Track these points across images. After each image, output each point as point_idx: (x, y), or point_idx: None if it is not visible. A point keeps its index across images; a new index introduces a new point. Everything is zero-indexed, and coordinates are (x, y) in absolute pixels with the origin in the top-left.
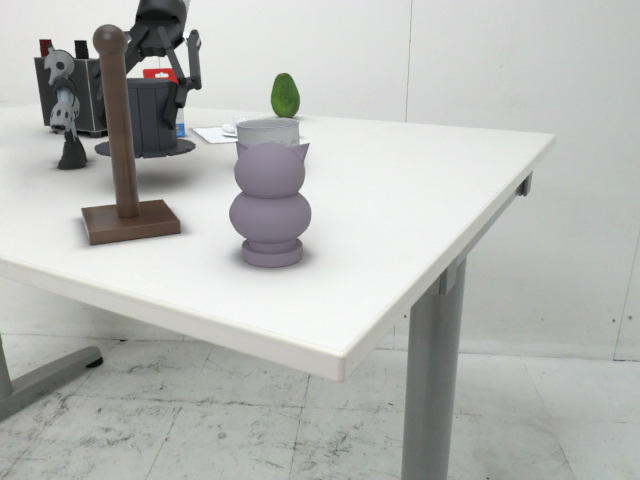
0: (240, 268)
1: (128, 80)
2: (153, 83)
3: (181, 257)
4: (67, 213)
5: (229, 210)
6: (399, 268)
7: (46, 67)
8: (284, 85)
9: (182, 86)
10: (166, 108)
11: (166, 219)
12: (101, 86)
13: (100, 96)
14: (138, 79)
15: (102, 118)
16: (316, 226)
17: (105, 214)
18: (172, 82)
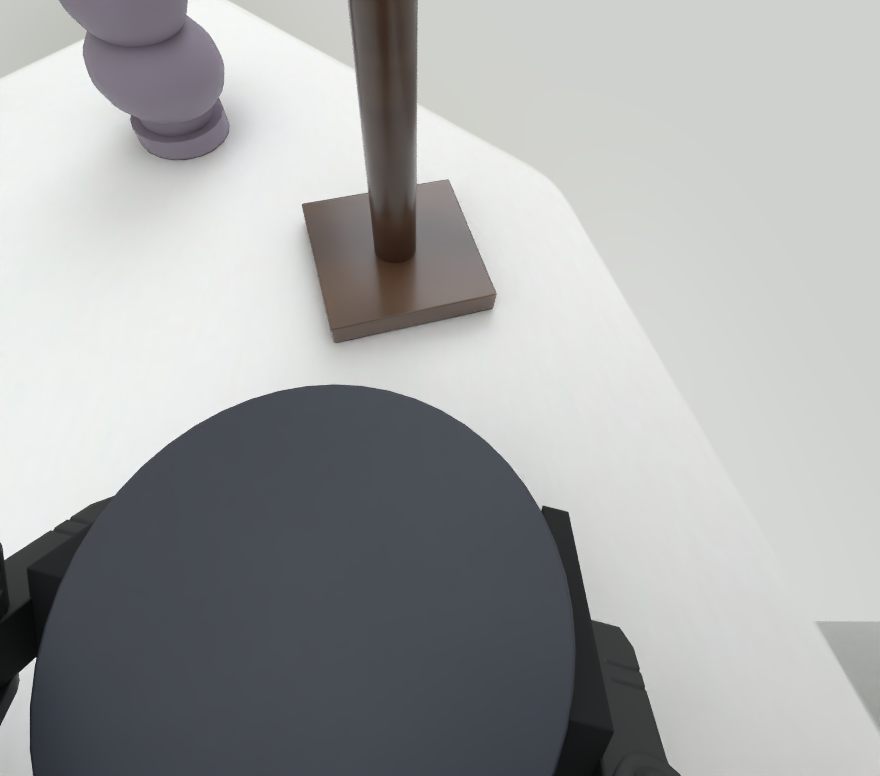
0: (239, 108)
1: (408, 586)
2: (228, 408)
3: (312, 144)
4: (535, 350)
5: (218, 62)
6: (38, 80)
7: None
8: None
9: (6, 576)
10: None
11: (325, 211)
12: (643, 729)
13: (607, 641)
14: (332, 712)
15: None
16: (57, 217)
17: (438, 250)
18: (62, 575)
